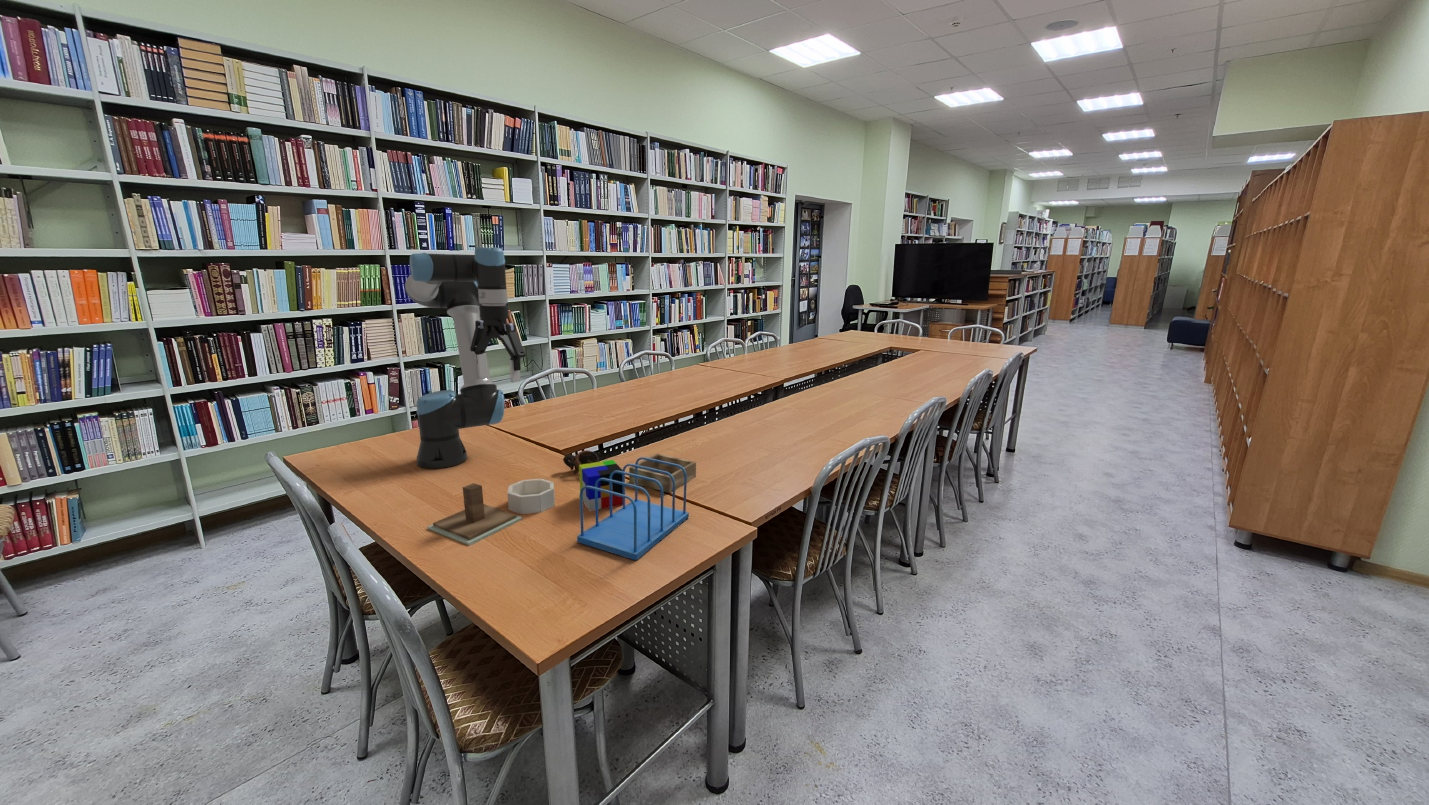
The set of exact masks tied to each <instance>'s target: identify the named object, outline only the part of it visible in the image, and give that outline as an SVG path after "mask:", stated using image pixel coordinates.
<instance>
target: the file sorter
mask: <svg viewBox="0 0 1429 805" xmlns="http://www.w3.org/2000/svg"><path fill="white" fill-rule="evenodd" d="M642 460H649V461H654V462H658V463H663V464H667V465H672V466H676V467H679V468H681V469H682V470H683V472H684V485H683V503H682V504H683V508H682V509H683V510H680V509H677V508H675V507H676V490H675V480H674V477H673V476H672V475H671V474H672V473H671V472H668V471H663V470H659V469H653V468H649V467H644V466H640V465H638V463H639V462H640V461H642ZM631 466H633V467H635V474H632V473H629V472H628V471H627V472H626V468H627V467H631ZM637 468H642V469H647V470H651V471H654V472H656V473H660V474H664V475H668V476H670V477H671V479H672V482H673V491H672V504H671V505H672V506H671V507H669V506H665V505H664V491H663V487H662V485H661V483H660V482H659V481H658V480H656V479H653V478H649V477H644V476H640V475H637ZM622 470H623V471H614V472H612V473H611V474H610V478H609V479H607V478H600V479H598V480H597V481H596V483H595V487H592V486H585V487H583V488H582V489H581V491H580V490H579V518H580V520H579V521H580V523H579V524H580V533H579V534H578V535H576V536H577V537H576V542H577V543H579V544H582V545H586V546H589V547H592V548H595V549H599V550H602V551H605V552H607V553H608V552H609V553H612V554H615V555H619V556H622V557H624V558H628V559H631V560H633V561H637V560H638V559H640V558H641V557H642V556H643V555H645V554H646V553H647V552H648V551H650V550H651V549H653V548H654V547H655V546H656V545H657V544H658V543H660V540H661V541H662V540H663V539H665V538H666V537H667V536H668V535H670V534H671V533H672V532H673V531H674V530H675V528H676V527H677V526H678V525H679V526H681V525H682V524H683V523H684V522H686V521H687V520H688V519H689V518H688V517H690V516H689V512H687V511H686V509H687V505H686V504H687V483H688V482H687V474H686V471H685V469H684V468H683V467H682V466H681V465H678V464H674V463H669V462H665V461H660V460H655V459H651V458H649V457H645V456H644V457H643V456H642V457H641V456H640V457H639V458H637V459H636V461H635V464H634V463H627V464H625V465H624V466H623V468H622ZM614 473H620V474H622V482H619V481H615V480H612V476H613V474H614ZM625 475H626V476H633V477H635V484H633V483H628V482H626V476H625ZM637 477H638V478H642V479H646V480H650V481H654V482H656V483H657V484H658V485H659V486H660V490H661V491H660V490H659V491H660V504H658V503H657V504H656V503H654V502H651V496H650V493H649V492H648V491H647V490H646V489H645V488H644V487H643V486H641V485H637ZM601 480H603V481H608V482H609V491H608V490H604V489H600V488H597V485H598V482H599V481H601ZM612 483H616V484H620V485H623V494H620V493H616V492H612ZM626 487H629V488H632V489H634V499H633V498H632V497H631V496H629V495H626ZM586 488H589V489H593V490H595V510H594V512H595V513H594V514H595V524H594V525H592V526H590V527H589V528H588V529H586V530H584V502H583V490H584V489H586ZM638 490H640V491H642V492H644V494H645V495H646V498H647V500H646V501H645V500H642V499H641V500H640V499H638ZM597 491H601V492H605V493H609V494H610V507H609V515H608V516H606V517H605V518H603V519H602V520H600V521H599V509H598V494H597ZM612 494H613V495H616V496H620V497H623V505H622V507H621V508H618V510H616V511H614V512H613V507H612ZM626 499H627V500H629V501H630V502H629V503H627V504H626ZM687 518H688V519H687ZM686 519H687V520H686ZM685 520H686V521H685ZM683 521H684V522H683ZM682 522H683V523H682ZM681 523H682V524H681ZM680 524H681V525H680ZM679 526H678V527H679ZM678 527H677V528H678ZM677 528H676V529H677ZM673 529H674V530H673ZM672 530H673V531H672ZM671 531H672V532H671ZM670 532H671V533H670ZM666 535H667V536H666ZM665 536H666V537H665Z"/></svg>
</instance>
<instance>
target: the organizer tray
mask: <svg viewBox="0 0 1429 805" xmlns="http://www.w3.org/2000/svg"><path fill="white" fill-rule="evenodd" d="M648 458H651V459H655V460H660V461H665V462H669V463H674V464H678V465H681V466H682V467H683V468H684V469H685V471H686V474H687V483H688V482H690V481H692V480H693V479H695V478H696V477H697V462H696V461H691V460H689V459H684V458H683V459H682V458H678V457H674V456H669V455H666V454H660V453H656V454H654V455H651V456H650V457H648ZM638 465H640V466H644V467H649V468H653V469H658V470H662V471H666V472H669V473H670V474H671V475H672V476H673V477H674V480H675V491H676V490H677V489H679V488H680V487H682V486H684V472H683V470H682V469H681V468H679V467H676V466H672V465H667V464H663V463H658V462H654V461H649V460H644V459H642V460H640V461H638ZM628 468H629V469H628V473H632V474H635V467H633V466H628ZM637 475H640V476H644V477H649V478H653V479H656V480H658V481H659V482H660V483H661V485H662V487H663V493H666V494H667V493H668V494H670V493H673V482H672V479H671V477H670V476H669V475H667V474H664V473H660V472H655V471H651V470H647V469H642V468H637ZM628 476H629V475H628ZM628 480H629V484H632V485H635V477H633V476H629V479H628ZM637 486H640V487H643V488H644V487H645V488H649V489H652V490H657V491H660V492H661V490H660V486H659V485H658V484H657V483H656V482H654V481H650V480H646V479H642V478H638V477H637Z"/></svg>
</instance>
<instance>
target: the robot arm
mask: <svg viewBox="0 0 1429 805" xmlns="http://www.w3.org/2000/svg"><path fill="white" fill-rule="evenodd" d="M504 253H505V252H504V250H503V249H502V248H501V247H490V246H489V247H487V246H478V247H475V249H474V254H463V253H462V254H461V253H460V254H458V253H457V254H455V253H454V254H453V253H452V254H451V253H449V254H448V253H428V252H427V253H426V252H422V253H421V252H419V253H411V254H410V256H409V270H410V275H409V276H408V277H407V278H406V280H405V282H404V290H405V293H406V294H407V296H408V298H409V299H411V300H412V301H413V302H414V303H417V304H418V305H421V306H423V307H427V308H432V309H446V314H447V315H449V316H450V317H451V318H452V320H453V326H454V333H455V339H456V343H457V344H456V345H457V348H458V354H459V355H458V356H459V362H460V368H461V373H462V381H463V385H462V386H461V387H460V388H459V390H460V393H456V391H454V390H453V389H447V390H446V389H445V390H444V389H443V390H437V391H432V392H430V393H429V392H428V393H426V394H424V395H422V396H420V397H419V398H418V399H417V400H416V414H417V420H418V430H419V438H420V443H419V447H418V451H417V455H416V464H417V466H419V467H420V468H423V469H428V470H429V469H431V470H432V469H433V470H435V469H445V468H450V467H454V466H458V465H460V464H462V463H464V462H465V461H466V460H468V452H467V450H466V448H465V445H464V443H463V441H462V440H461V437H460V430H461V429H467V428H468V429H469V428H476V427H481V426H490V425H496V424H499V423H501V422H502V420H503V419H504V413H505V395H504V392H503V390H501V389H498V387H497V384H496V383H495V382H494V381H492V380H491V375H490V368H489V362H488V356H487V355H488V354H487V352H486V349H487V348H488V346H489V344H490V342H491V341H492V339H493V338H494V339H497V340H498V341H500V342H501V343H502V345H503V347H504V348H505V350H506V351H507V353H508V355H509V356H510V358H509V373H510V382H511V383H513V384H514V383H517V382H518V383H519V382H521V369H522V367H521V359H523V358H525V357H526V356H527V354H526V352H525V349H524V346H523V345H522V342H521V339H520V337H519V335H518V333H517V327H516V323H515V322H511V323H507V319H509V316H510V315H509V306H508V305H507V304H508V303H509V300H508V288H507V277H506V276H507V275H506V274H507V273H506V259H505V258H506V257H505V254H504Z"/></svg>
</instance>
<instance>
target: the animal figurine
mask: <svg viewBox="0 0 1429 805" xmlns="http://www.w3.org/2000/svg"><path fill="white" fill-rule="evenodd" d="M591 456H593V457H594V458H596V461H595V463H596V462H601V461H600V457H599V455H598V454H597V453H596V452H595V451H592V450H587V449H585V450H581V451H579V452H578V453H576V455H574V454H569V453H568V454H565V455H564V457H563V458H562V461H563V463H564V464H565V465H566V466H567V467H568V468H569V469H570V470H571V471H573V470H577V469H578V470H579V465H582V464H589V463H594V462H593V461H591V460H588V458H589V457H591Z"/></svg>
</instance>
